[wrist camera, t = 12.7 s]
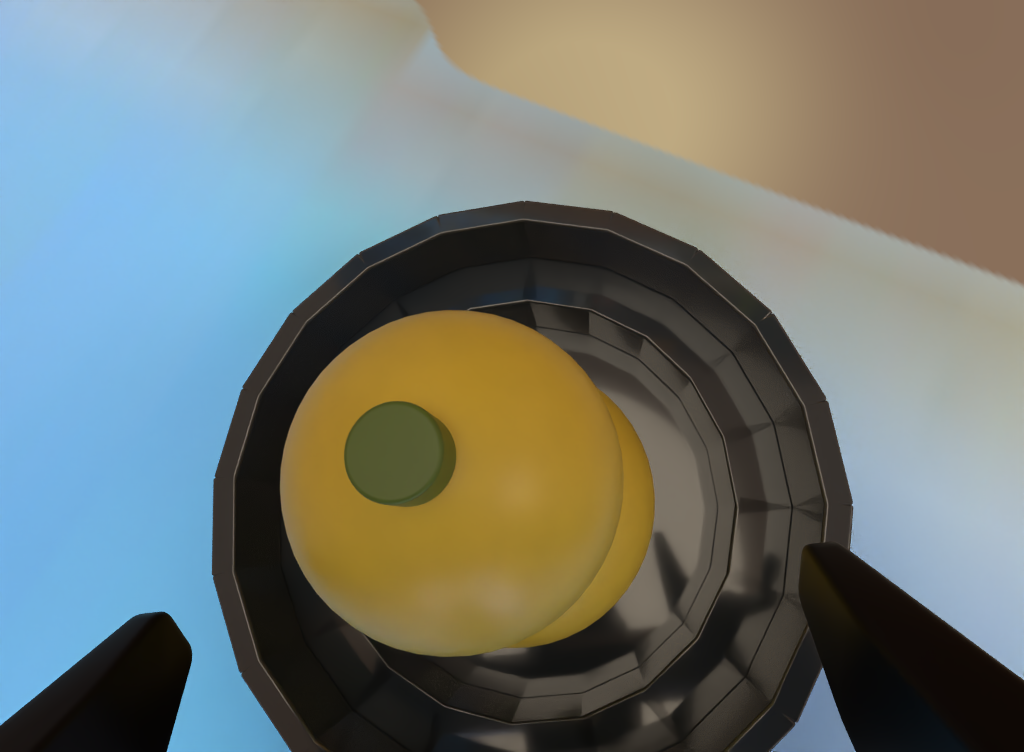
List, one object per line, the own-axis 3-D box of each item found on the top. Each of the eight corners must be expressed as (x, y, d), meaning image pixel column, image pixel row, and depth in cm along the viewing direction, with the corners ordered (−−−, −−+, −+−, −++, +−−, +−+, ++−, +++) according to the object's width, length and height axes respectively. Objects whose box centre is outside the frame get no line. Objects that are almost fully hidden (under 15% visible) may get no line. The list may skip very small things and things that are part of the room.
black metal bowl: (836, 747, 16) (937, 839, 11) (310, 785, 18) (205, 881, 13) (726, 247, 20) (769, 158, 15) (301, 312, 21) (216, 251, 17)
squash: (612, 650, 17) (665, 995, 4) (396, 581, 18) (-37, 701, 6) (662, 425, 18) (813, 204, 6) (458, 376, 20) (217, 104, 7)
